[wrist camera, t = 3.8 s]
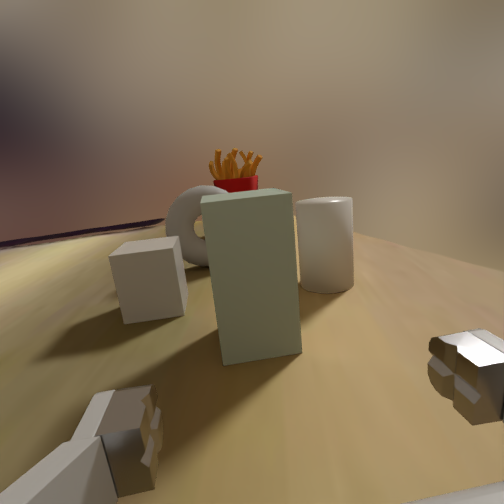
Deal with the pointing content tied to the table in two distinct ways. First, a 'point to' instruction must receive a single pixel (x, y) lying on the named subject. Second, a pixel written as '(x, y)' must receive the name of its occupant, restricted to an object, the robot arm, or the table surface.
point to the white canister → (325, 244)
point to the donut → (189, 223)
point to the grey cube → (150, 279)
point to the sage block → (253, 273)
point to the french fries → (235, 172)
